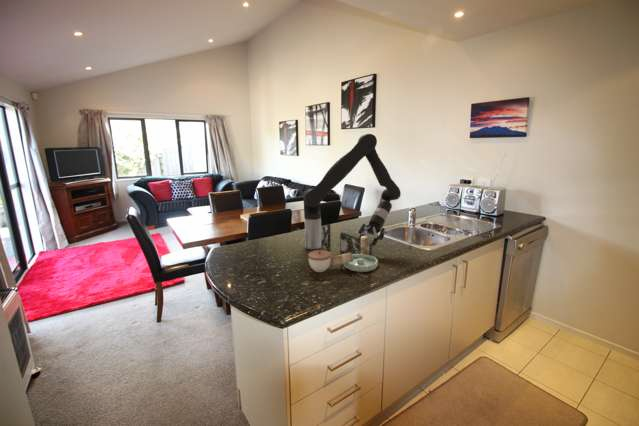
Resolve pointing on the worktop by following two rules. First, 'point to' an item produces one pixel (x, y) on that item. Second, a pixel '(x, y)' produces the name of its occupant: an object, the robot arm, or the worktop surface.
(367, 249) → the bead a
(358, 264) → the ring dish
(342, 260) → the beige banded cylinder
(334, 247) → the worktop surface
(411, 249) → the worktop surface
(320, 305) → the worktop surface
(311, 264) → the lidded jar
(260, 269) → the worktop surface
